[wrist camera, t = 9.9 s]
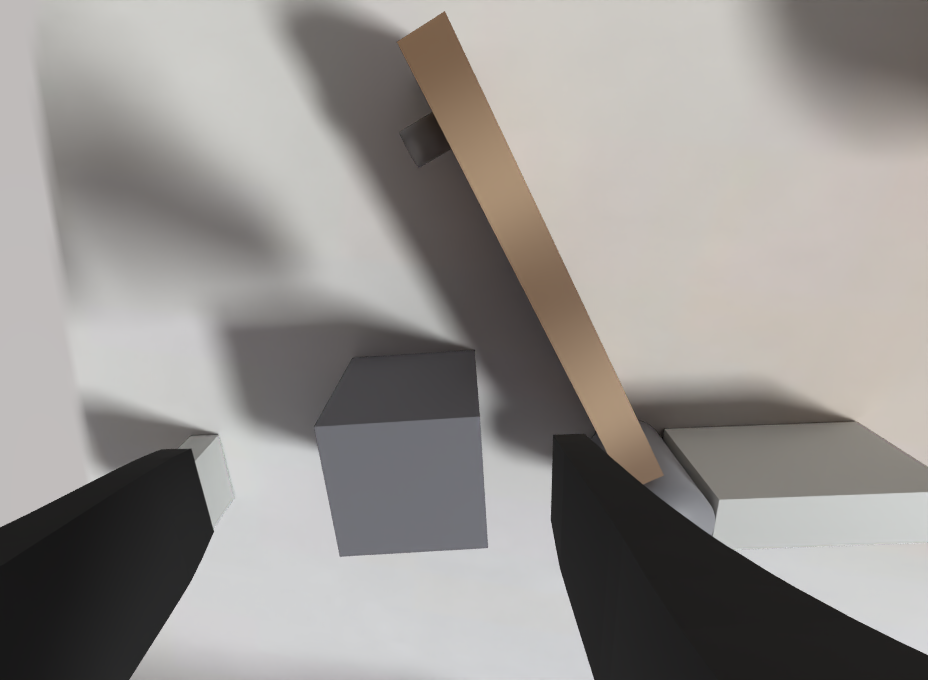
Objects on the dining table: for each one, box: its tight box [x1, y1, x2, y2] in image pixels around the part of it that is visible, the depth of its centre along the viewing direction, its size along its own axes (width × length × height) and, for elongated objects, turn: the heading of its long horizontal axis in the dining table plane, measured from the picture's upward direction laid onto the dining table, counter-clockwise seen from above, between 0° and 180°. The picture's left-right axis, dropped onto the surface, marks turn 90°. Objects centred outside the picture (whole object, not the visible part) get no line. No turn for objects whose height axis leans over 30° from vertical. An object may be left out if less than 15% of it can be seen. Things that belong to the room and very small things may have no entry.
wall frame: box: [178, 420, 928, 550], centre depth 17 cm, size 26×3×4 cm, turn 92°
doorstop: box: [314, 350, 488, 557], centre depth 16 cm, size 4×4×5 cm
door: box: [397, 11, 664, 484], centre depth 14 cm, size 14×2×4 cm, turn 28°
